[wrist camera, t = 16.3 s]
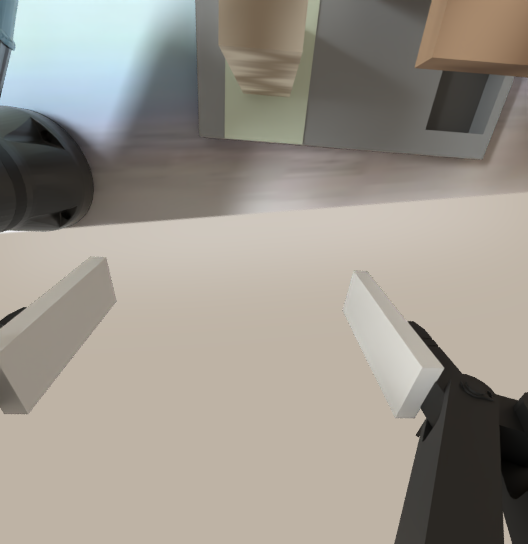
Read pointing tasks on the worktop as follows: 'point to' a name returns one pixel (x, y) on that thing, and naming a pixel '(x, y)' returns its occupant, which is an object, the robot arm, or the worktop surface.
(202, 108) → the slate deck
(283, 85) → the cream block
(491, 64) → the walnut tunnel
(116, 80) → the worktop surface
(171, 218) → the worktop surface
